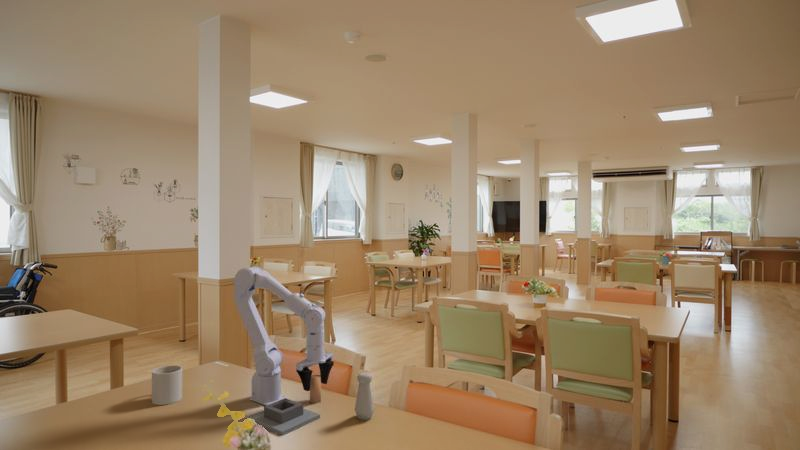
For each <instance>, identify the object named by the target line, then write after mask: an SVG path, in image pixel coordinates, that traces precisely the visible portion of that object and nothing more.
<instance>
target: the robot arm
mask: <svg viewBox="0 0 800 450" xmlns="http://www.w3.org/2000/svg"><path fill="white" fill-rule="evenodd" d="M232 281H233V285H234V286H233V298H232V299H233V301H234V303H235V306H236V309H237V310H238V312H239V314H240V317H241V320H242V322H243V324H244V327H245V330H246V332H247V334H248V336H249V339H250V340H251V341H250V342H251V344H252V345H253V348H254V350H253V359H254V368H255V372H254V373H253V375H252V378H251V397H249V400H250V401H252V402H255V403H259V404H260V405H262V406H263V405H264V406H267V405H270V404H272V403H275V402H277V401H280V400H282V399H285V398H286V399H288V398H287V396H285V395H283V394H282V377H281V376H282V369H281V364H282V363H283V361H284V354H283V352H281V350H280V349H279V348H278V347H277V346H276V343H274V342H273V341H272V340H270V337H269V335H268V332H267V330H266V328H265V325H264V323H263V322H264V321H263V320H262V319H261V315H260V314H259V312H258V308H257V307H256V304H255V302H254V299H253V295H254V293H255V291H256V289H260V288H261V289H267V291H270V292H271V293H272V294H274V295H275V296H277V297H279V298H280V299H281V300H283V301H284V302H285V306H286V308H287V309H289V310H290V311H291V312H292V313H294V314H296V315H297V316H298V317H299V318H301V319H303V323H304V325H305V326H306V330H305V331H306V333H305V335H306V336H305V337H306V338H305V341H306V342H305V343H306V345H305V346H306V347H305V349H306V351H305V352H306V353H305V354H306V356H305V357H306V358H304V359H302V360H301V361H299V362H297V363H295V367H296V368H295V370H296V372H297V375H298V377H299V378H300V381H301V385H302V387H303V388H302V389H303V391H306V392H310V380H311V376H312V375H313V372H314V371H313V370H312V369H310V368H309V367H313V366H316V365H318V368H319V373H320V374H319V375H320V376H321V384H323V385H327V384H328V381H329V377H330V373H331V370H332V368H333V367H334V361H333V360H334V353H330V352H327V353H325V327H324V326H325V325H324V321H325V319H326V317H327V316H326V315H327V314H326V311H325V309H324V308H323V307H322V306H320V305H316V304H315V303H314V302H313V303H312V302H311V301H309V300H308V299H307V298H305V294H303V293H299V292H292V291H290V290H289V289H288V288H286V287H285V286H284V285H283V284H282V283H280V282H279V280H278V279H276V278H275V277H274V276H272V275H271V274H270V273H269V272H268V271H267V270H264V269H263V268H262V267H260V266H258V265H252V266H250V267H244V268H240V269H239V270H238V271H237V272H236V274H235V275H234V278H233V279H232Z"/></svg>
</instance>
